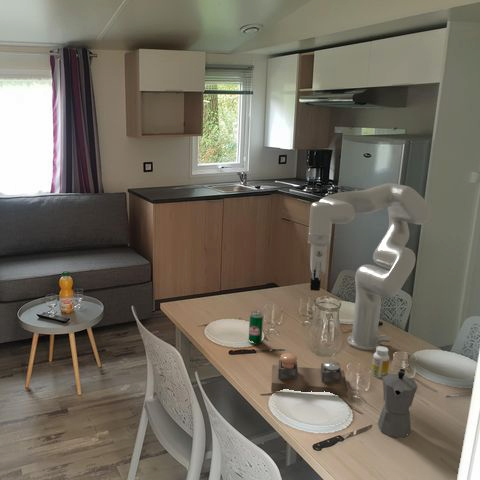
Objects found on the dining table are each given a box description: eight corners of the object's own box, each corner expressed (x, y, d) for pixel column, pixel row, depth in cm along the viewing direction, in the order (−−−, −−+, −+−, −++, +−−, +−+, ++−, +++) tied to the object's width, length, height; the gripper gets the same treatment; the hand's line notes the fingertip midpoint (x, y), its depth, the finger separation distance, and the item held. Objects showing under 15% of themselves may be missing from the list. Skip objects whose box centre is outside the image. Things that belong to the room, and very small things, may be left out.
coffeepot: (408, 446, 147) (417, 387, 142) (373, 437, 150) (381, 379, 145) (413, 416, 161) (420, 362, 156) (381, 409, 164) (387, 355, 159)
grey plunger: (337, 374, 177) (338, 361, 176) (339, 382, 172) (340, 368, 171) (321, 373, 177) (323, 359, 176) (322, 380, 172) (324, 367, 171)
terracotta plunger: (295, 367, 178) (296, 354, 176) (295, 374, 173) (296, 361, 171) (279, 365, 178) (280, 352, 177) (279, 373, 173) (280, 360, 172)
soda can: (246, 343, 204) (248, 314, 201) (251, 338, 208) (252, 309, 205) (259, 345, 202) (261, 316, 199) (263, 340, 207) (265, 311, 204)
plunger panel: (342, 378, 181) (344, 361, 179) (347, 397, 170) (348, 378, 168) (272, 372, 183) (273, 355, 181) (271, 391, 171) (272, 372, 169)
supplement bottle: (387, 372, 187) (390, 346, 184) (387, 379, 182) (390, 353, 179) (371, 369, 188) (374, 344, 186) (370, 376, 183) (374, 350, 181)
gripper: (332, 245, 173) (327, 298, 178) (328, 234, 188) (324, 283, 193) (309, 243, 174) (304, 296, 179) (307, 232, 188) (303, 282, 193)
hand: (314, 289), depth 186 cm, fingers closed
